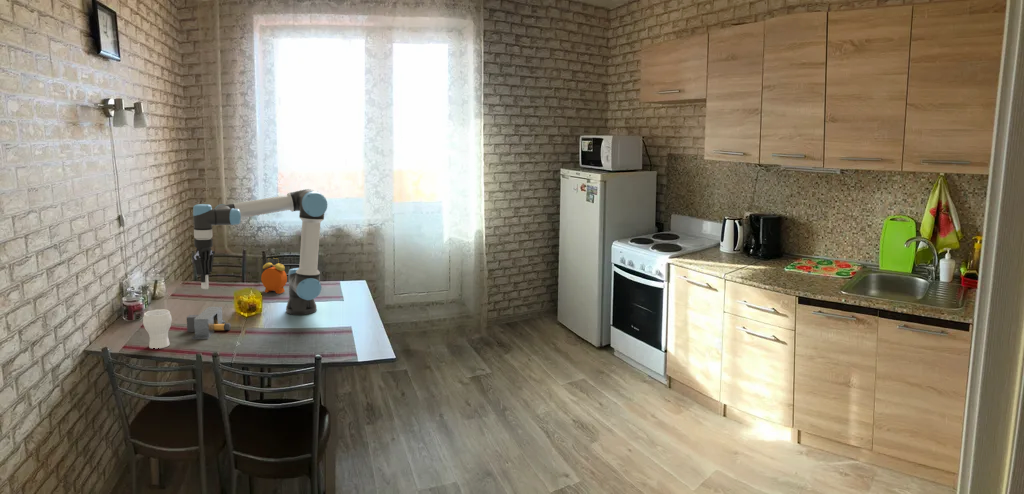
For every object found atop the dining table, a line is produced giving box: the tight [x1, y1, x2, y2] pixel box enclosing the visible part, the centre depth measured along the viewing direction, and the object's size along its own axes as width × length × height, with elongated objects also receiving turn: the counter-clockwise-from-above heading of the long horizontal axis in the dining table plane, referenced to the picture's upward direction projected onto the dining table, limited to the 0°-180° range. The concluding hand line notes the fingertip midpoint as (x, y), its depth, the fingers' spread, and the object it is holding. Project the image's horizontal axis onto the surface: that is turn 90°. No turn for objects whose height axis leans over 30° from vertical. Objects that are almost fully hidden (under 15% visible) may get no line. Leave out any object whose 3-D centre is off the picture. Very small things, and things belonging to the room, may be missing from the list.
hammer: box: [186, 314, 232, 333], centre depth 285 cm, size 18×4×7 cm, turn 98°
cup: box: [142, 308, 173, 350], centre depth 263 cm, size 11×11×15 cm
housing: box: [191, 306, 226, 340], centre depth 285 cm, size 7×25×9 cm, turn 8°
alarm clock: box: [260, 257, 288, 295], centre depth 352 cm, size 13×6×20 cm, turn 77°
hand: (205, 288), depth 282 cm, fingers closed
